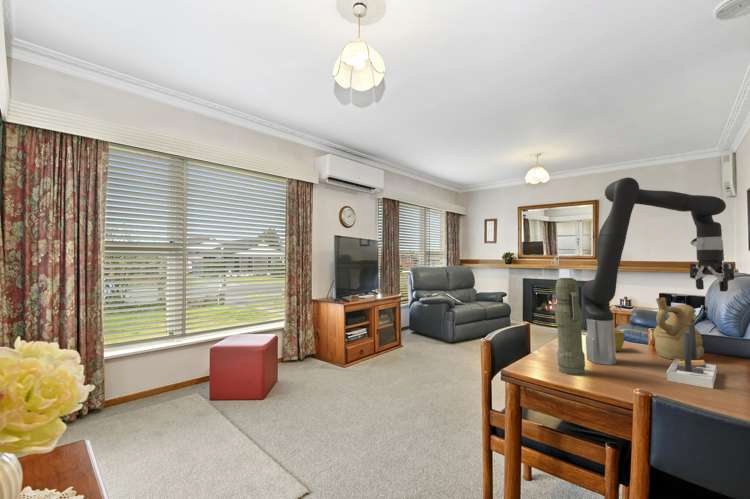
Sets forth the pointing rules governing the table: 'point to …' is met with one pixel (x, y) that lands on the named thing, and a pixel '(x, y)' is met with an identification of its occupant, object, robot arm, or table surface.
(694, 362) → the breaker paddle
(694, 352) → the dark grey rod
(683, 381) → the breaker board
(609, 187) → the robot arm
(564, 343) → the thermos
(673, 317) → the ceramic vessel
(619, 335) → the flower pot
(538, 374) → the table surface
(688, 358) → the dark grey peg
